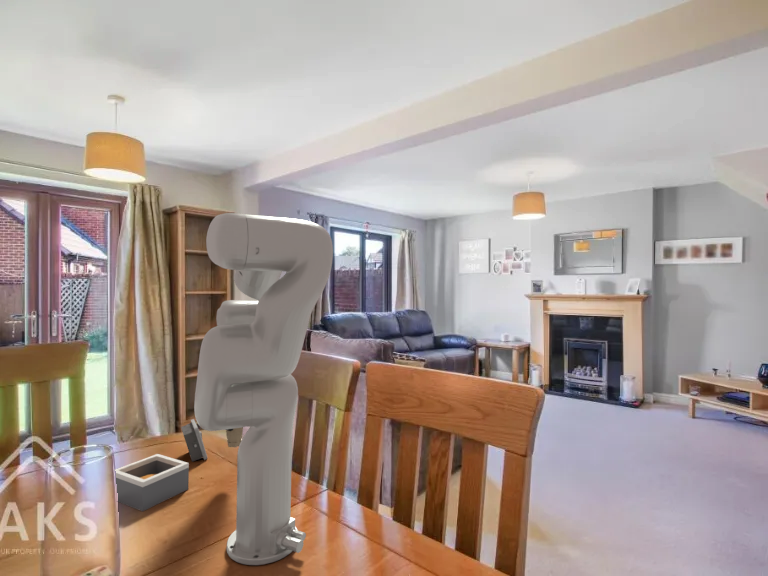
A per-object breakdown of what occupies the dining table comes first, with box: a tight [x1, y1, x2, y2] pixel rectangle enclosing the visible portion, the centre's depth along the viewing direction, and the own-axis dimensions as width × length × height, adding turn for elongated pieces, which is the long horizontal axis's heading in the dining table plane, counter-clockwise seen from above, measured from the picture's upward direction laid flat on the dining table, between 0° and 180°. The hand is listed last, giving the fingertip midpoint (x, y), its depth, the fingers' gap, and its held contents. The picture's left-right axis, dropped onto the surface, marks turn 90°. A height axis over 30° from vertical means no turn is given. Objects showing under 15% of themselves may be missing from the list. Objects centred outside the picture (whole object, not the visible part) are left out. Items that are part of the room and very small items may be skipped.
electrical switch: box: [180, 418, 208, 462], centre depth 116 cm, size 9×5×9 cm, turn 30°
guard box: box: [114, 453, 190, 512], centre depth 95 cm, size 11×11×6 cm
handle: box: [225, 427, 244, 448], centre depth 102 cm, size 5×6×15 cm
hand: (235, 426), depth 102 cm, fingers closed on handle, 3 cm apart
